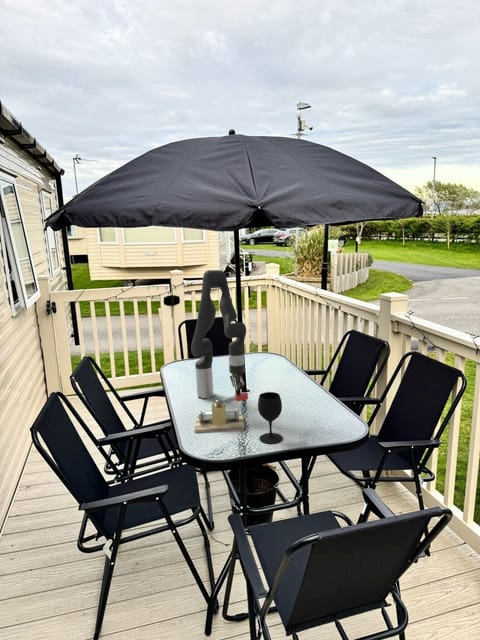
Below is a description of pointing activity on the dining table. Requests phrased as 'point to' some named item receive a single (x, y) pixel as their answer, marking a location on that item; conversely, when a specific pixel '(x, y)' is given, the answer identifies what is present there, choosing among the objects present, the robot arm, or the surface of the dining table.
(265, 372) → the dining table surface
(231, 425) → the mounting board
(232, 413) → the valve
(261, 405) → the wine glass
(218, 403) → the lever
